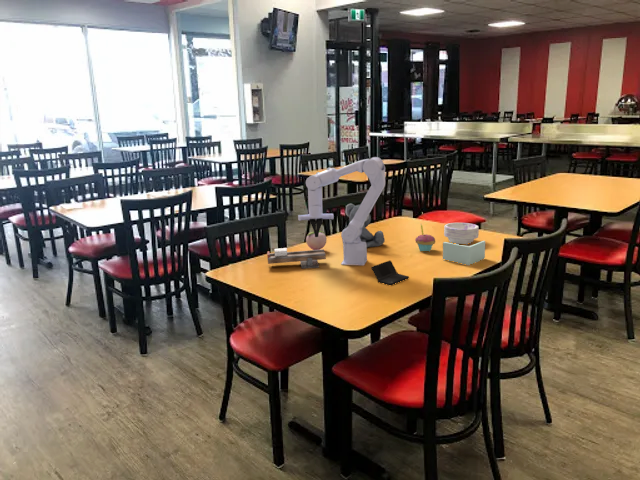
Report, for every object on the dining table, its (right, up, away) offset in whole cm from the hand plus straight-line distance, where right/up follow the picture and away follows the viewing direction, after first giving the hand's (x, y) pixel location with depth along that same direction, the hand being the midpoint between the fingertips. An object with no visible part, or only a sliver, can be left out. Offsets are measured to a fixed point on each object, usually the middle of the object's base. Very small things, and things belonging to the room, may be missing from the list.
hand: (316, 236), depth 214 cm
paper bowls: (+66, -3, +22) cm, 70 cm away
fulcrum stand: (-3, -12, -3) cm, 12 cm away
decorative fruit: (0, -7, +17) cm, 18 cm away
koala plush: (+20, -4, +24) cm, 32 cm away
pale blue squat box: (+60, -10, -4) cm, 61 cm away
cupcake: (+48, -6, +11) cm, 49 cm away
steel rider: (-14, -8, -4) cm, 17 cm away
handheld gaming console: (+27, -16, -25) cm, 40 cm away
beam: (-8, -9, -4) cm, 13 cm away
